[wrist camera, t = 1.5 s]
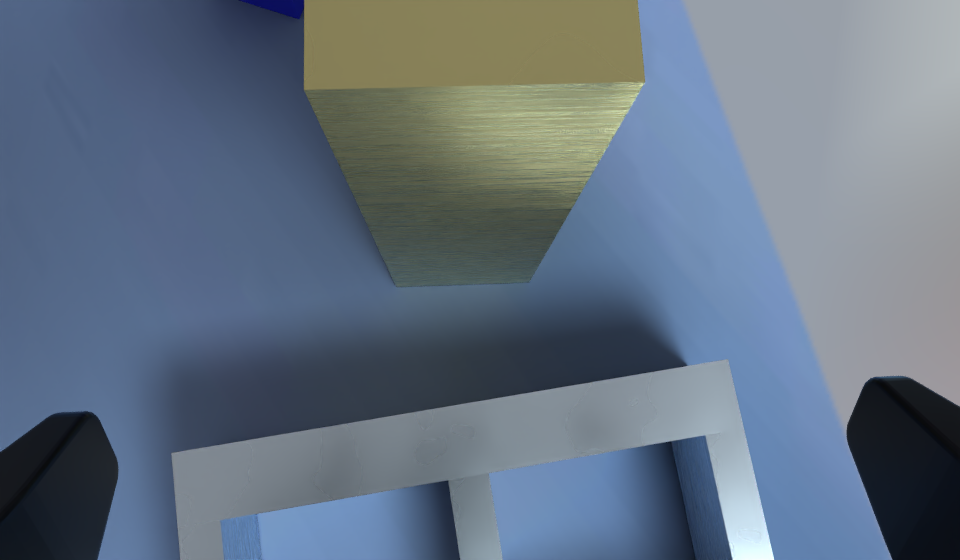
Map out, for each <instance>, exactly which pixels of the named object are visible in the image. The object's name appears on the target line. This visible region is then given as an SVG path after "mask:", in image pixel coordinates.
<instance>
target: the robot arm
mask: <svg viewBox="0 0 960 560" xmlns="http://www.w3.org/2000/svg"><path fill="white" fill-rule="evenodd" d="M847 441H848V445H849V448H850V451H851V453H852V456H853V459H854V461H855V464H856V466H857V469H858V472H859V474H860V477H861V480H862V482H863V485H864V487H865V490H866V493H867V495H868V498H869V501H870V503H871V506H872V508H873V511H874V514H875V516H876V519H877V522H878V524H879V527H880V530H881V532H882V535H883V537H884V540H885V543H886V545H887V547H888V550H889V552H890V555H891V557H892V559H893V560H960V406H958V405H956V404H954V403H953V402H951V401H949V400H947V399H946V398H944V397H942V396H941V395H939V394H937V393H935V392H934V391H932V390H930V389H929V388H927V387H925V386H923V385H922V384H920V383H918V382H916V381H914V380H913V379H911V378H908V377H904V376H886V377H885V376H884V377H873V378H871V379H869V380H868V381H867V382H866V383H865V385H864V387H863V389H862V391H861V393H860V396H859V398H858V400H857V403H856V405H855V407H854V410H853V412H852V415H851V417H850V420H849V422H848V425H847ZM117 479H118V462H117V458H116V456H115V453H114V451H113V449H112V447H111V444H110V442H109V440H108V438H107V436H106V433H105V431H104V429H103V427H102V424H101V422H100V420H99V419H98V417H97V416H96V415H95V414H94V413H92V412H88V411H83V412H61V413H56V414H53V415H51V416H49V417H48V418H46V419H45V420H43V421H42V422H41V423H39V424H38V425H37V426H35V427H34V428H32V429H31V430H30V431H28V432H27V433H26V434H24V435H23V436H22V437H20V438H19V439H18V440H16V441H15V442H14V443H12V444H11V445H10V446H8V447H7V448H5V449H4V450H3V451H1V452H0V560H97V559H98V555H99V551H100V547H101V543H102V539H103V535H104V531H105V528H106V524H107V520H108V516H109V512H110V508H111V504H112V500H113V496H114V492H115V488H116V484H117Z"/></svg>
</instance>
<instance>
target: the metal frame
mask: <svg viewBox="0 0 960 560" xmlns="http://www.w3.org/2000/svg"><path fill="white" fill-rule="evenodd" d="M669 441H671V444H672V449H673V454H674V458H675V463H676V468H677V473H678V477H679V482H680V487H681V492H682V496H683V501H684V506H685V511H686V515H687V520H688V525H689V530H690V534H691V539H692V544H693V549H694V553H695V558H696V560H774V558H773V553H772V549H771V545H770V540H769V536H768V532H767V527H766V523H765V519H764V514H763V510H762V506H761V501H760V497H759V492H758V488H757V484H756V479H755V475H754V471H753V466H752V462H751V458H750V453H749V449H748V445H747V440H746V436H745V432H744V427H743V423H742V418H741V414H740V410H739V405H738V401H737V397H736V392H735V388H734V384H733V379H732V375H731V371H730V366H729V362H728V359H726V360H720V361H715V362H709V363H703V364H697V365H691V366H685V367H679V368H673V369H667V370H661V371H655V372H649V373H643V374H637V375H631V376H625V377H619V378H614V379H608V380H602V381H596V382H590V383H584V384H578V385H572V386H566V387H560V388H554V389H548V390H542V391H536V392H530V393H524V394H518V395H513V396H507V397H501V398H495V399H489V400H483V401H477V402H471V403H465V404H459V405H453V406H447V407H441V408H435V409H429V410H423V411H418V412H412V413H406V414H400V415H394V416H388V417H382V418H376V419H370V420H364V421H358V422H352V423H346V424H340V425H334V426H328V427H322V428H317V429H311V430H305V431H299V432H293V433H287V434H281V435H275V436H269V437H263V438H257V439H251V440H245V441H239V442H233V443H227V444H221V445H216V446H210V447H204V448H198V449H192V450H186V451H180V452H174V453H171V454H172V466H173V478H174V490H175V502H176V514H177V526H178V538H179V549H180V560H261V551H260V541H259V531H258V522H257V514H258V513H264V512H270V511H275V510H281V509H287V508H293V507H298V506H304V505H310V504H315V503H321V502H327V501H332V500H338V499H344V498H350V497H355V496H361V495H367V494H372V493H378V492H384V491H389V490H395V489H401V488H407V487H412V486H418V485H424V484H429V483H435V482H441V481H446V480H448V482H449V489H450V496H451V502H452V509H453V515H454V522H455V528H456V535H457V542H458V548H459V555H460V560H503V559H502V553H501V546H500V540H499V534H498V528H497V522H496V516H495V510H494V503H493V497H492V491H491V485H490V479H489V473H492V472H498V471H503V470H509V469H515V468H521V467H526V466H532V465H538V464H543V463H549V462H555V461H560V460H566V459H572V458H578V457H583V456H589V455H595V454H600V453H606V452H612V451H617V450H623V449H629V448H635V447H640V446H646V445H652V444H657V443H663V442H669Z"/></svg>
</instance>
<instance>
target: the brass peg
mask: <svg viewBox="0 0 960 560" xmlns="http://www.w3.org/2000/svg"><path fill="white" fill-rule="evenodd" d="M644 83H645V76H644V65H643V54H642V43H641V33H640V22H639V11H638V0H304V91H305V93H306V95H307V97H308V100H309V102H310V104H311V106H312V108H313V110H314V112H315V114H316V117H317V119H318V121H319V123H320V125H321V127H322V129H323V131H324V134H325V136H326V138H327V140H328V142H329V144H330V146H331V149H332V151H333V153H334V155H335V157H336V159H337V161H338V163H339V166H340V168H341V170H342V172H343V174H344V176H345V178H346V181H347V183H348V185H349V187H350V189H351V191H352V193H353V195H354V198H355V200H356V202H357V204H358V206H359V208H360V210H361V212H362V215H363V217H364V219H365V221H366V223H367V225H368V227H369V230H370V232H371V234H372V236H373V238H374V240H375V242H376V244H377V247H378V249H379V251H380V253H381V255H382V257H383V259H384V262H385V264H386V266H387V268H388V270H389V272H390V274H391V276H392V279H393V281H394V283H395V285H396V287H412V286H440V285H468V284H497V283H525V282H530V280H531V278H532V277H533V275H534V273H535V271H536V270H537V268H538V266H539V264H540V263H541V261H542V259H543V258H544V256H545V254H546V252H547V251H548V249H549V247H550V245H551V244H552V242H553V240H554V239H555V237H556V235H557V233H558V232H559V230H560V228H561V226H562V225H563V223H564V221H565V219H566V218H567V216H568V214H569V213H570V211H571V209H572V207H573V206H574V204H575V202H576V200H577V199H578V197H579V195H580V194H581V192H582V190H583V188H584V187H585V185H586V183H587V181H588V180H589V178H590V176H591V175H592V173H593V171H594V169H595V168H596V166H597V164H598V162H599V161H600V159H601V157H602V156H603V154H604V152H605V150H606V149H607V147H608V145H609V143H610V142H611V140H612V138H613V137H614V135H615V133H616V131H617V130H618V128H619V126H620V124H621V123H622V121H623V119H624V118H625V116H626V114H627V112H628V111H629V109H630V107H631V105H632V104H633V102H634V100H635V98H636V97H637V95H638V93H639V92H640V90H641V88H642V86H643V85H644Z"/></svg>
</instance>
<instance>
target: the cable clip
mask: <svg viewBox="0 0 960 560" xmlns="http://www.w3.org/2000/svg"><path fill="white" fill-rule="evenodd" d="M240 1H243V2H246V3H249V4H252V5H255V6H259V7H262V8H265V9H268V10H271V11H274V12H278V13H281V14H284V15H287V16H290V17H293V18H297V19H300V16H301V14H302V11H303V9H304V0H240Z"/></svg>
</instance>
